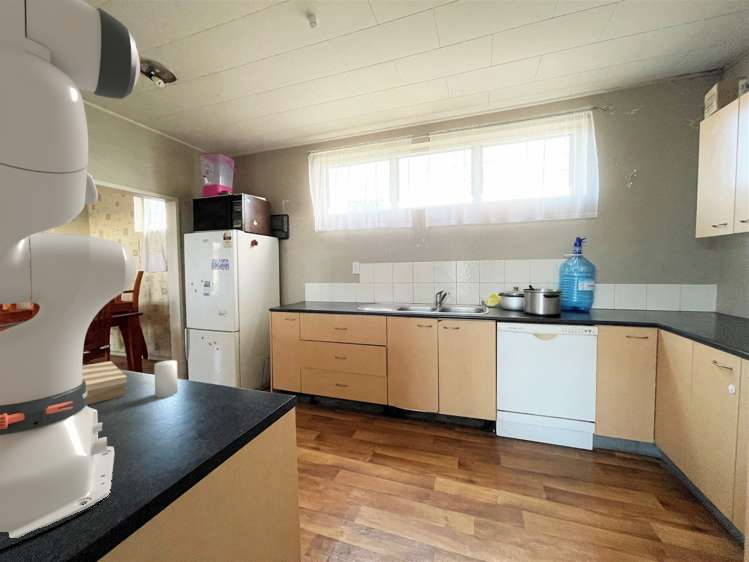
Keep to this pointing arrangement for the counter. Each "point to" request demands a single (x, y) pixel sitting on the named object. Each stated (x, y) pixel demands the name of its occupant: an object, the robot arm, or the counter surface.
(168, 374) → the white rounded block
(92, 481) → the robot arm
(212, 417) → the counter surface
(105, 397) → the wooden board
